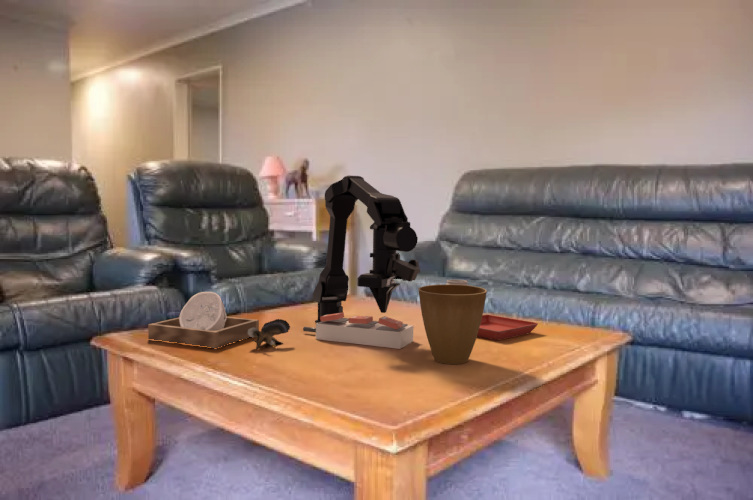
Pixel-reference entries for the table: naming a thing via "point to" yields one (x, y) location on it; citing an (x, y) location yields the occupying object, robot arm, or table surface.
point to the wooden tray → (202, 332)
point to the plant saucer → (503, 327)
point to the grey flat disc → (203, 312)
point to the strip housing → (363, 333)
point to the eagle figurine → (269, 332)
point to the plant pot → (452, 319)
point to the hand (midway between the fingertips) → (383, 312)
